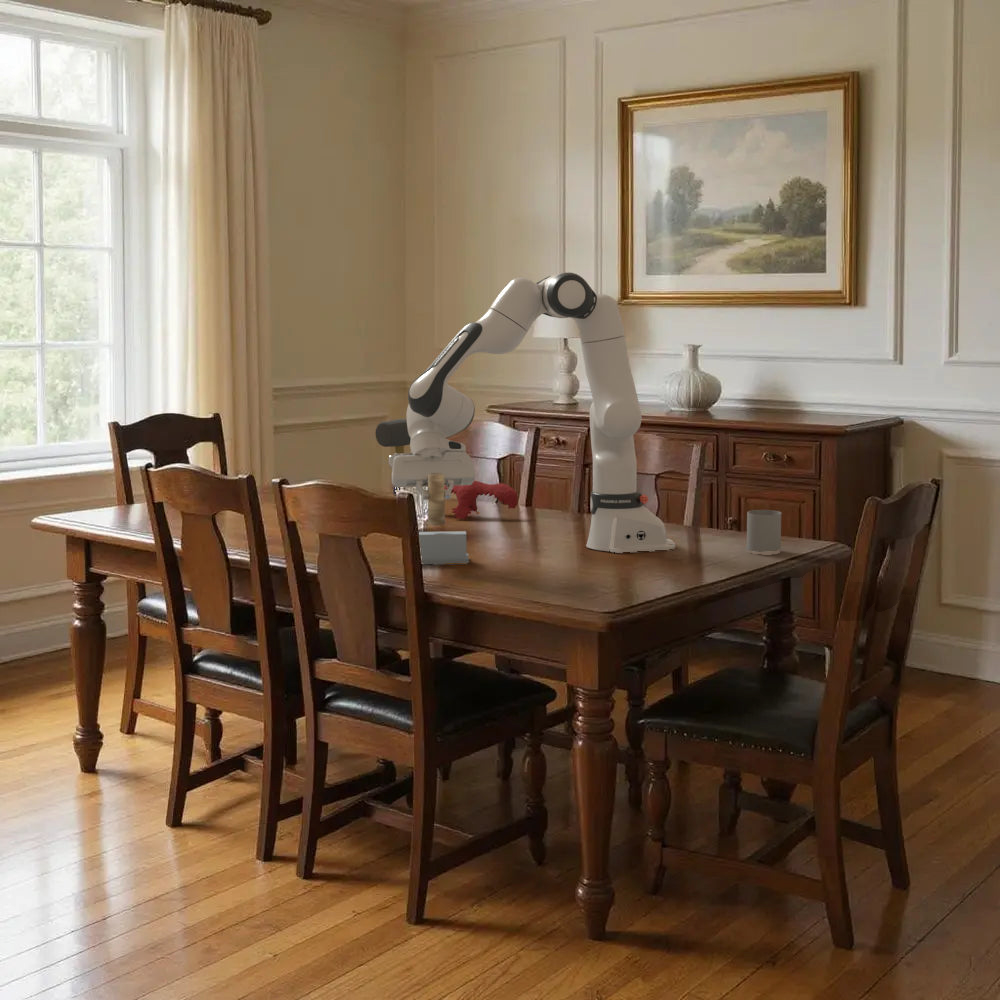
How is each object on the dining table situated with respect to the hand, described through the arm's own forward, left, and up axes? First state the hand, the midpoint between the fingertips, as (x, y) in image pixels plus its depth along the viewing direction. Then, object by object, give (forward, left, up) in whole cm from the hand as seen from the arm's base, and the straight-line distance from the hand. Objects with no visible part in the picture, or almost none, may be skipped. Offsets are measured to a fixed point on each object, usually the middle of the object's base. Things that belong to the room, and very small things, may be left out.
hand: (436, 498), depth 334 cm
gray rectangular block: (0, -1, -16) cm, 16 cm away
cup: (-81, -7, -16) cm, 83 cm away
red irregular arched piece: (-9, -67, -16) cm, 69 cm away
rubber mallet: (+10, -52, -16) cm, 55 cm away
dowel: (0, -1, -6) cm, 6 cm away
